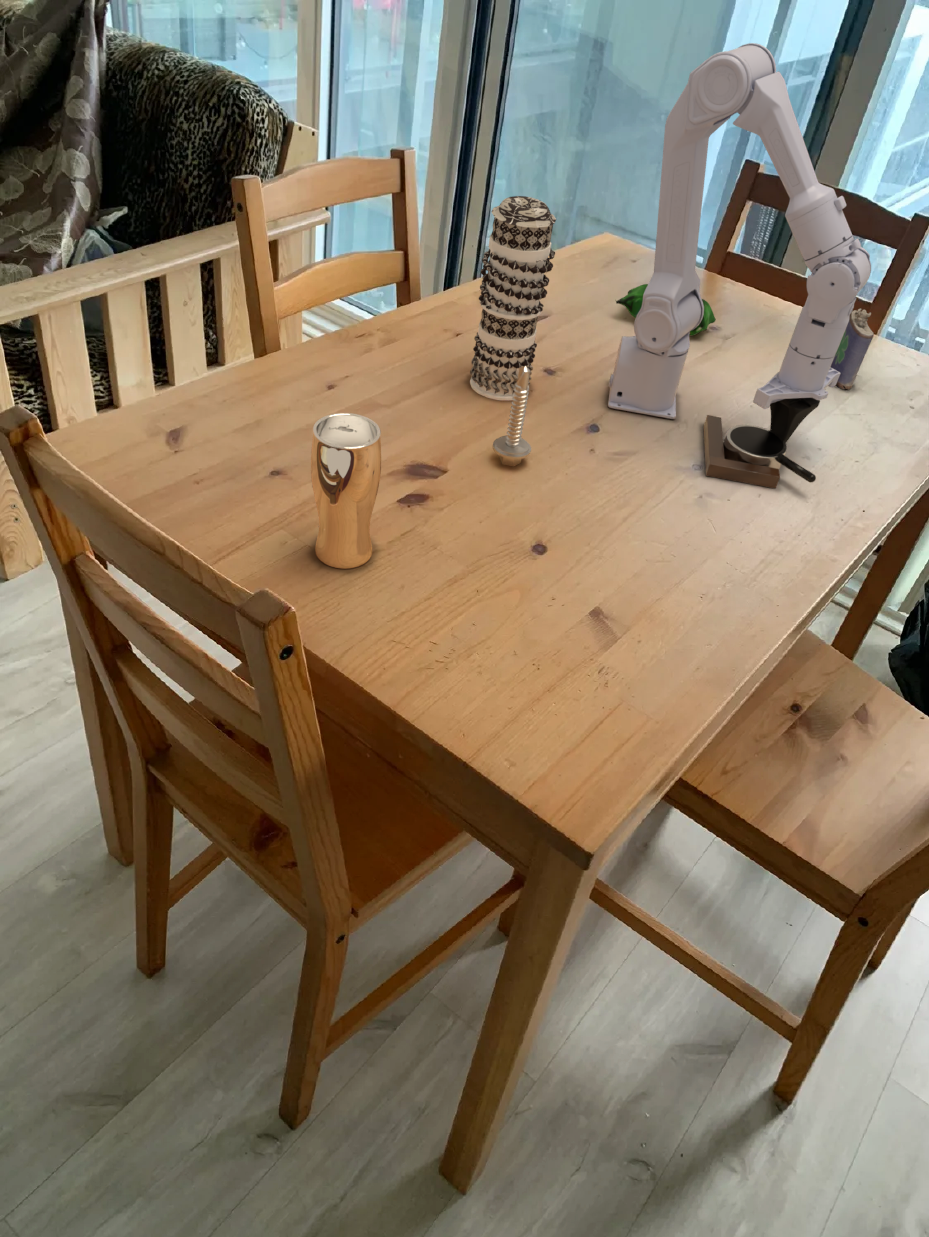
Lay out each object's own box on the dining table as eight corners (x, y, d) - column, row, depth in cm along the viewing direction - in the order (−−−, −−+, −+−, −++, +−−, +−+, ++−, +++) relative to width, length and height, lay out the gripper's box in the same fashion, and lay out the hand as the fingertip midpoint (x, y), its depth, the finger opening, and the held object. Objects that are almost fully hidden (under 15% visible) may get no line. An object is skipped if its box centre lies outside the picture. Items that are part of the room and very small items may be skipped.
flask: (853, 391, 142) (881, 324, 135) (833, 388, 142) (860, 321, 135) (843, 364, 149) (869, 299, 142) (824, 361, 149) (850, 296, 142)
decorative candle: (542, 398, 130) (576, 215, 113) (481, 405, 127) (507, 217, 110) (516, 368, 136) (544, 189, 119) (457, 373, 133) (478, 190, 116)
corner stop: (705, 476, 119) (709, 464, 118) (703, 426, 129) (706, 414, 128) (775, 488, 119) (780, 477, 118) (767, 437, 129) (772, 426, 127)
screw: (495, 447, 119) (532, 455, 118) (486, 466, 116) (524, 475, 115) (510, 353, 110) (549, 361, 110) (500, 370, 107) (541, 379, 106)
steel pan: (707, 452, 124) (714, 431, 122) (747, 438, 128) (754, 417, 125) (786, 506, 116) (795, 484, 114) (826, 490, 120) (836, 468, 118)
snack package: (624, 304, 158) (631, 274, 154) (713, 329, 154) (722, 298, 150) (611, 319, 153) (617, 288, 149) (703, 345, 149) (711, 314, 145)
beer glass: (343, 523, 104) (346, 404, 94) (389, 552, 101) (397, 432, 91) (297, 550, 99) (295, 427, 89) (343, 580, 96) (347, 457, 86)
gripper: (800, 374, 110) (763, 470, 119) (873, 351, 117) (833, 444, 126) (755, 348, 114) (723, 444, 123) (828, 328, 121) (793, 420, 130)
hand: (776, 442), depth 125 cm, fingers closed
